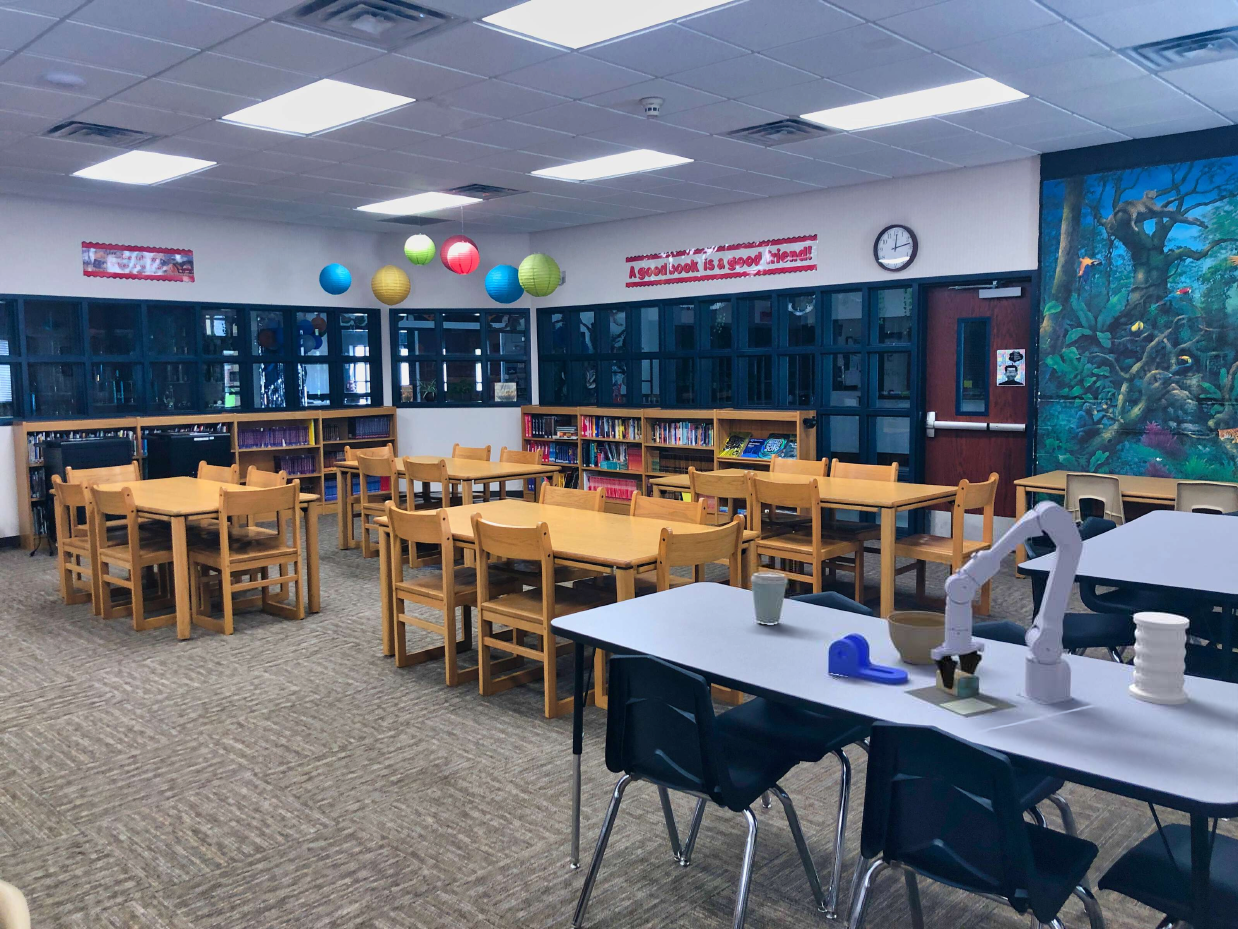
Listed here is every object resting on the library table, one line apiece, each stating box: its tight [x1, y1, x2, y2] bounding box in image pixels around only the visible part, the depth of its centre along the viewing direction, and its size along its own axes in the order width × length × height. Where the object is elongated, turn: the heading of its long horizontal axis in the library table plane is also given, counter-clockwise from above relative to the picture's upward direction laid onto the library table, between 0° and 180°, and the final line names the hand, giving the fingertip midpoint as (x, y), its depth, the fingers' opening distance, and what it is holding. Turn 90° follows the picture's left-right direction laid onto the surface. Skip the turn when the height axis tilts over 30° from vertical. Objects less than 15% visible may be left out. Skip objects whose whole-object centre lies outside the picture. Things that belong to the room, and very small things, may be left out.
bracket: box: [827, 632, 909, 685], centre depth 232 cm, size 18×8×9 cm, turn 52°
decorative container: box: [1128, 611, 1190, 706], centre depth 216 cm, size 12×12×18 cm
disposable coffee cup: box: [750, 572, 788, 623], centre depth 284 cm, size 11×11×15 cm
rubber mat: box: [903, 684, 1018, 718], centre depth 215 cm, size 15×19×1 cm
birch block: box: [935, 668, 980, 698], centre depth 220 cm, size 5×8×4 cm, turn 26°
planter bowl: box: [886, 610, 945, 665], centre depth 245 cm, size 16×16×11 cm
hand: (957, 686), depth 220 cm, fingers closed on birch block, 5 cm apart
